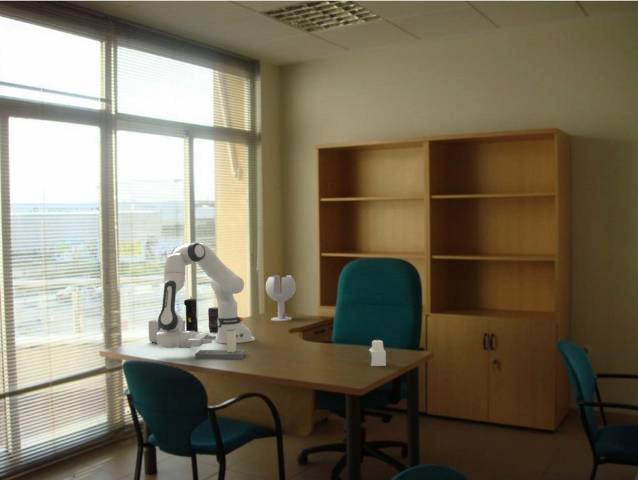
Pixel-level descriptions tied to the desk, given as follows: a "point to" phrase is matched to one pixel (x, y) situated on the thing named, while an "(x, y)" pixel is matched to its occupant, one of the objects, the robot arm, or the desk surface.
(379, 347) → the medicine bottle
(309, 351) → the desk surface
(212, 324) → the camera lens
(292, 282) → the stemmed glass
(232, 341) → the fader knob
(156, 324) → the stereo radio cassette player
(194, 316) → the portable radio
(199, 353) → the mixing console
